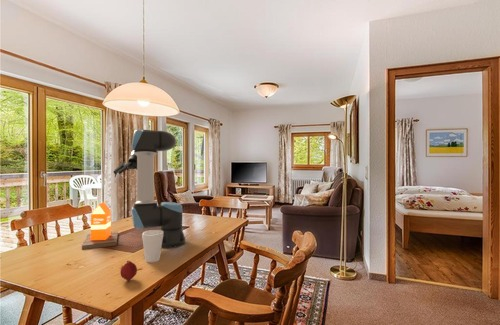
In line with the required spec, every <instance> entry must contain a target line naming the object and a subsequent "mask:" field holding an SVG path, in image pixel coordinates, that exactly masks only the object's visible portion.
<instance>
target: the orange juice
mask: <svg viewBox="0 0 500 325" xmlns="http://www.w3.org/2000/svg"><path fill="white" fill-rule="evenodd" d="M111 220H112V211H111V209H110V207H108V206H107V204H106V203H105V201H103V202H100V203H99V204H97V206H96V207H95V209H94V210H93V211H92V212H91V214H90V234H91V240H106V239H107V238H108V237H109V236H110V235H111V232H112V230H111V229H112V228H111V225H112V221H111Z"/></svg>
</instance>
